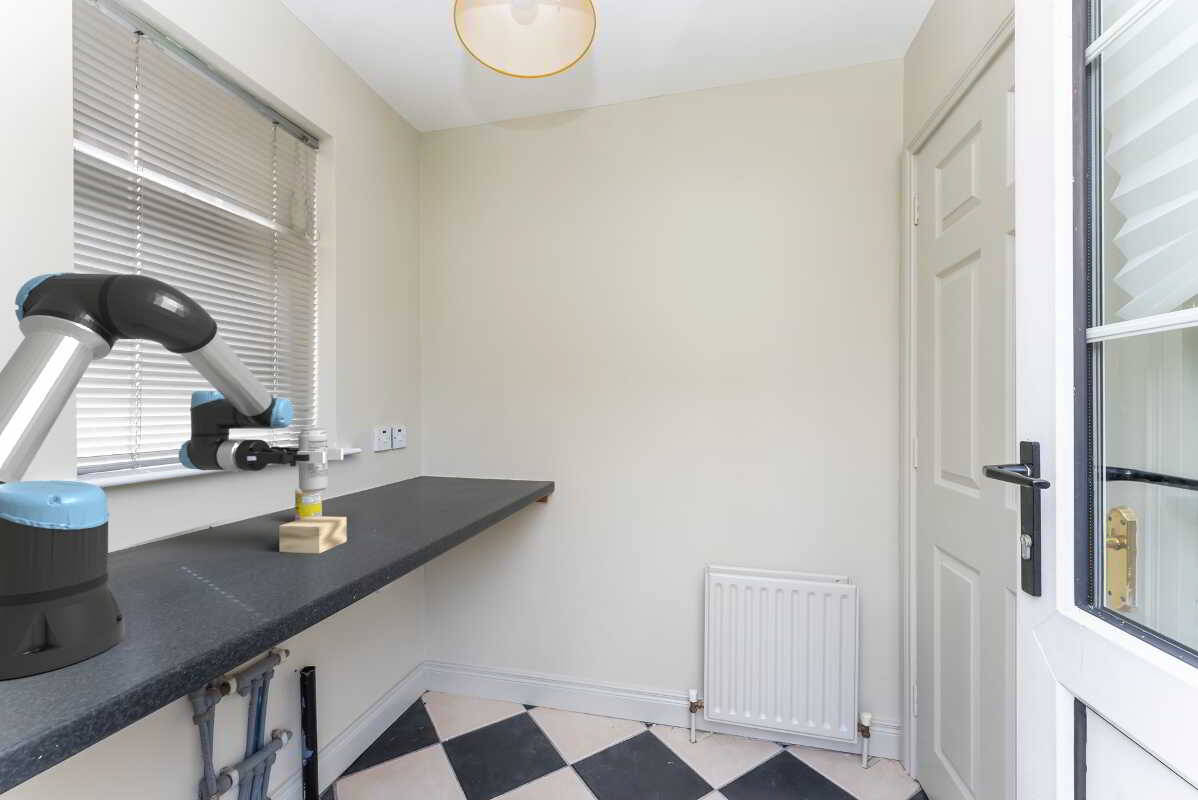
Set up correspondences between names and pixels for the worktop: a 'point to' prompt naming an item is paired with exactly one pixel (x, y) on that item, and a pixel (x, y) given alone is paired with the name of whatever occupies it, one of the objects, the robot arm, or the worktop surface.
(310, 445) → the energy drink can
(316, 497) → the supplement bottle
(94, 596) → the robot arm
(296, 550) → the oak block
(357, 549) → the worktop surface
